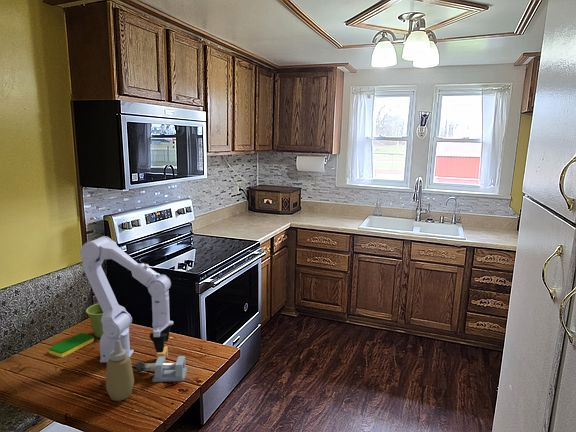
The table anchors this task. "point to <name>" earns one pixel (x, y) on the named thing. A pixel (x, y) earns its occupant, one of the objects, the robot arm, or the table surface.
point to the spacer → (164, 353)
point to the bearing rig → (170, 374)
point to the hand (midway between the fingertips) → (162, 346)
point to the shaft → (153, 366)
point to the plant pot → (96, 319)
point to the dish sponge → (71, 345)
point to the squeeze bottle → (119, 374)
